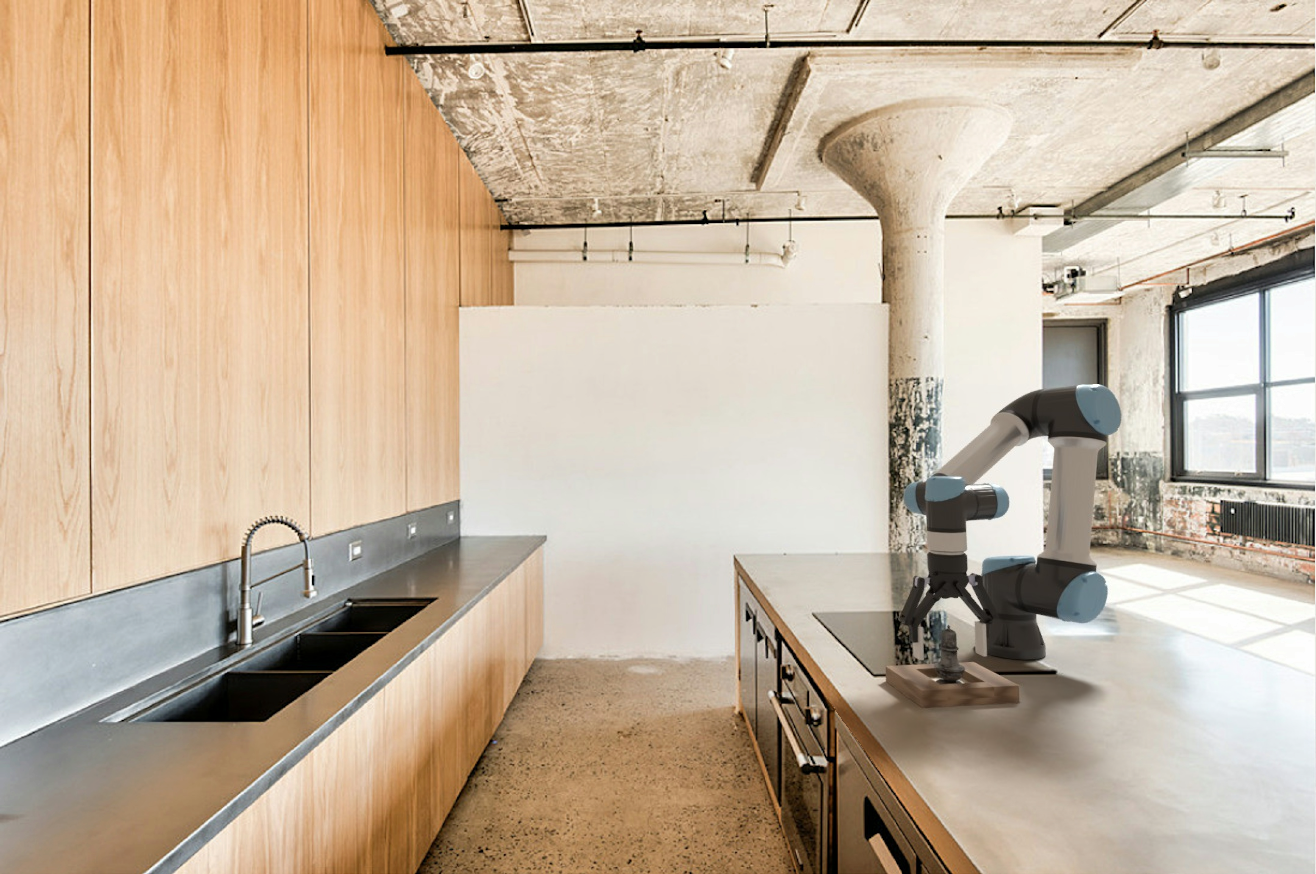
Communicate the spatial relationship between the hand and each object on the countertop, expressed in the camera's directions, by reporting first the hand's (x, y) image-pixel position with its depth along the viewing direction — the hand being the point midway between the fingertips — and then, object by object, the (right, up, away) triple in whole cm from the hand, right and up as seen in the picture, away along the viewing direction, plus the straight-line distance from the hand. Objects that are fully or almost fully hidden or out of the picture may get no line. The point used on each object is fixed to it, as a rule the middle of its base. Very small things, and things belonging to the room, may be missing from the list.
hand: (950, 656), depth 135 cm
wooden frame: (0, -7, 0) cm, 7 cm away
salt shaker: (0, -6, 0) cm, 6 cm away
